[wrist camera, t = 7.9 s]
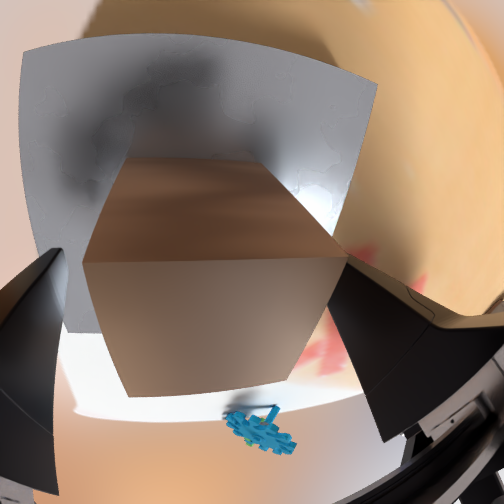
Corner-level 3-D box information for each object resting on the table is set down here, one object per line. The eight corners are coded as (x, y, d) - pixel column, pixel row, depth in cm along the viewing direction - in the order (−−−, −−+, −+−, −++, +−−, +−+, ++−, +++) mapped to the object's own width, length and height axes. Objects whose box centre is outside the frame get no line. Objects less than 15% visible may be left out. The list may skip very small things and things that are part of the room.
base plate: (345, 79, 11) (377, 84, 9) (284, 293, 19) (298, 320, 17) (49, 54, 6) (23, 52, 4) (75, 301, 14) (68, 332, 12)
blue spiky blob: (233, 411, 26) (306, 453, 24) (258, 375, 30) (324, 415, 28) (214, 428, 33) (270, 462, 31) (235, 401, 37) (288, 432, 35)
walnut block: (261, 163, 10) (349, 256, 5) (240, 267, 13) (286, 380, 8) (126, 157, 8) (81, 263, 4) (131, 270, 11) (128, 397, 6)
